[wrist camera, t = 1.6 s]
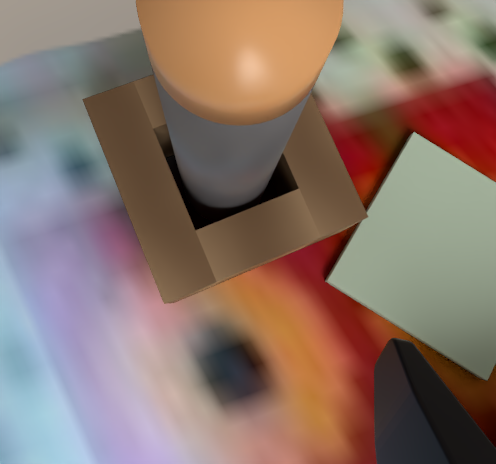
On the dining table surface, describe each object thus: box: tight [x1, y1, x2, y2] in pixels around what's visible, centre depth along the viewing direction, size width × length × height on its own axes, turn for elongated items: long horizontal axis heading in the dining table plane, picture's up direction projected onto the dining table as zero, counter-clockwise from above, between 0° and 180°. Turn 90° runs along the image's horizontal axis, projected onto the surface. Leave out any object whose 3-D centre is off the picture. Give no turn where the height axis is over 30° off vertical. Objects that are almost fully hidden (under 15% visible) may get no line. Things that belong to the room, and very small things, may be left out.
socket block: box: [83, 74, 368, 304], centre depth 20 cm, size 9×9×4 cm
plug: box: [136, 0, 343, 222], centre depth 16 cm, size 4×4×14 cm
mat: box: [325, 132, 496, 381], centre depth 22 cm, size 9×9×1 cm
